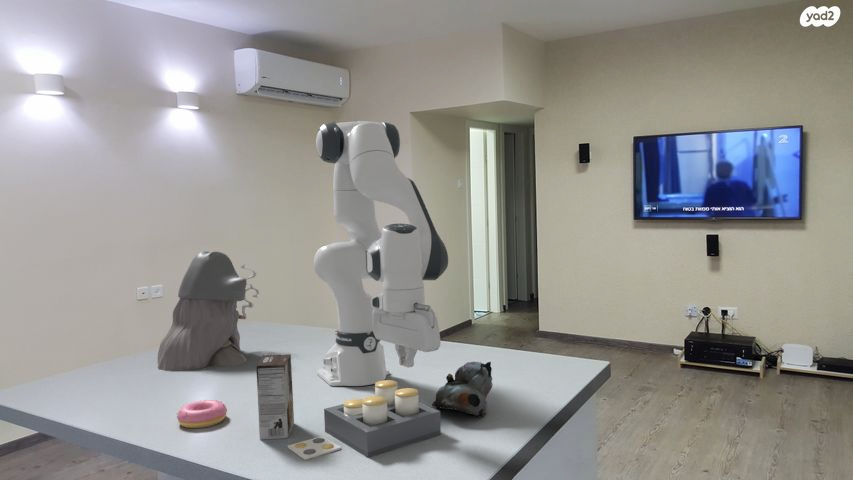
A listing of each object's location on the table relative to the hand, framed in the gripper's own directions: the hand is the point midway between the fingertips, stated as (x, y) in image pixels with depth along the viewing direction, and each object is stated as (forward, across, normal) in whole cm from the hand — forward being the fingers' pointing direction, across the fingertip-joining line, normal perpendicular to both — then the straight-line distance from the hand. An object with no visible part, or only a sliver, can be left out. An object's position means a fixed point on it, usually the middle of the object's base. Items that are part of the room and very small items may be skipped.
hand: (406, 366), depth 130 cm
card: (+14, +7, +19) cm, 25 cm away
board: (+15, +5, +4) cm, 16 cm away
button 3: (+10, +9, 0) cm, 14 cm away
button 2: (+11, +1, +8) cm, 13 cm away
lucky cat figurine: (+15, +4, -18) cm, 23 cm away
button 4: (+11, +1, 0) cm, 11 cm away
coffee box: (+14, +21, +21) cm, 33 cm away
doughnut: (+14, +38, +32) cm, 52 cm away
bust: (+13, +100, +12) cm, 101 cm away
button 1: (+13, +9, +8) cm, 18 cm away
